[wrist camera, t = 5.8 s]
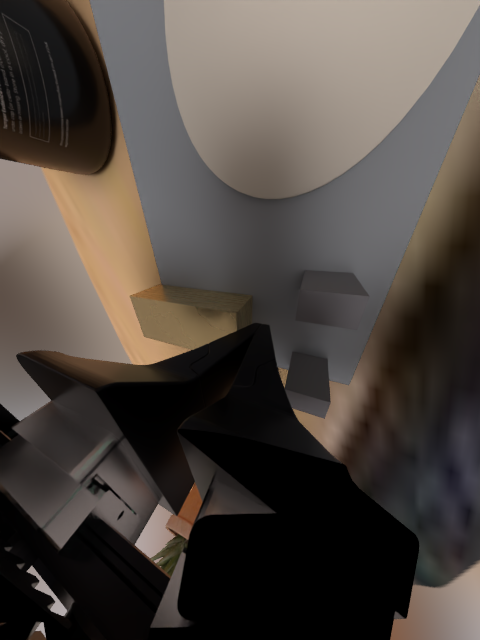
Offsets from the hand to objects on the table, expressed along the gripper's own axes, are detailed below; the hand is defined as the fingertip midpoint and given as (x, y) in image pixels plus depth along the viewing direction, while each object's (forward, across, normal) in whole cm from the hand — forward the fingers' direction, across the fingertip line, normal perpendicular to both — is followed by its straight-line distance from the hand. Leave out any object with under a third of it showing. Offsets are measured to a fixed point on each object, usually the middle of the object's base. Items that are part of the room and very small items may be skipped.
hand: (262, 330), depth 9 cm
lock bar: (+1, +4, 0) cm, 5 cm away
